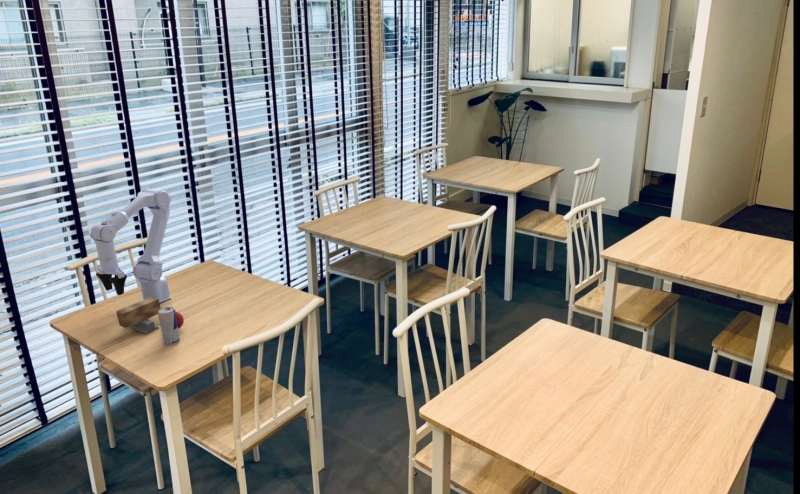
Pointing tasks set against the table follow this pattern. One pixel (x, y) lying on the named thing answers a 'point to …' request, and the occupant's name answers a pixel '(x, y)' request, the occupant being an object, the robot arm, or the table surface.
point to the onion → (179, 319)
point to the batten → (138, 312)
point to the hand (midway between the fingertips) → (114, 292)
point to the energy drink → (169, 326)
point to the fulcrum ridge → (145, 326)
